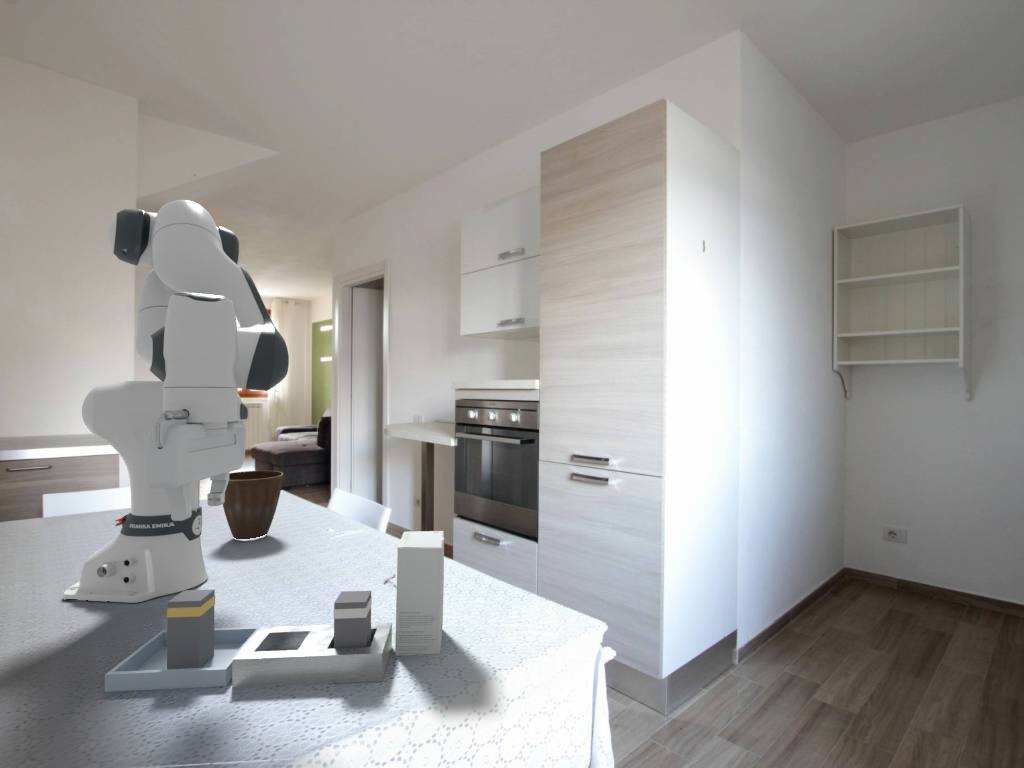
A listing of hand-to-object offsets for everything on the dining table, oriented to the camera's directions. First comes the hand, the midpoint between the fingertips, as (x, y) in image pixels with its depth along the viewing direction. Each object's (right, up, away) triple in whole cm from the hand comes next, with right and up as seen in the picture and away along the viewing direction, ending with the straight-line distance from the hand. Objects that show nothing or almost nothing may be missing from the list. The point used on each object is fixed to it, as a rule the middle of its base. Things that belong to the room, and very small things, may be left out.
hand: (199, 512), depth 72 cm
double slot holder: (+17, -21, -2) cm, 26 cm away
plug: (-1, -20, -1) cm, 20 cm away
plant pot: (-24, -22, +63) cm, 71 cm away
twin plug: (+21, -20, -1) cm, 29 cm away
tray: (-1, -21, -1) cm, 21 cm away
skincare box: (+29, -21, +6) cm, 36 cm away
